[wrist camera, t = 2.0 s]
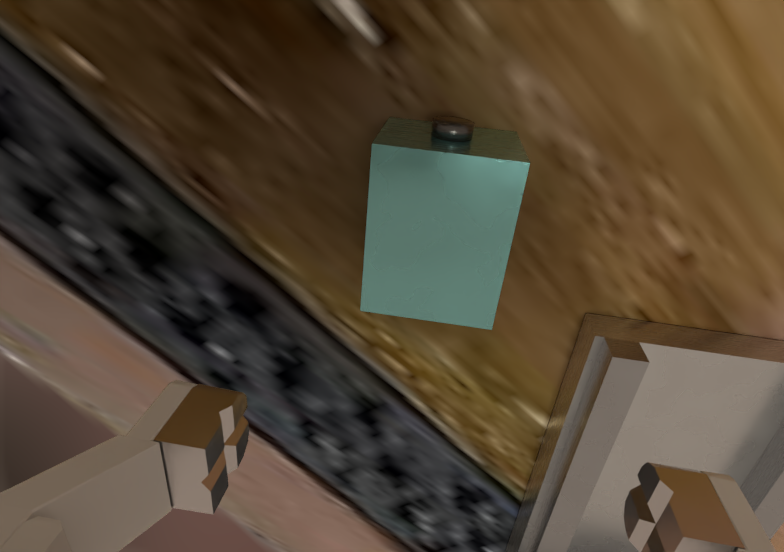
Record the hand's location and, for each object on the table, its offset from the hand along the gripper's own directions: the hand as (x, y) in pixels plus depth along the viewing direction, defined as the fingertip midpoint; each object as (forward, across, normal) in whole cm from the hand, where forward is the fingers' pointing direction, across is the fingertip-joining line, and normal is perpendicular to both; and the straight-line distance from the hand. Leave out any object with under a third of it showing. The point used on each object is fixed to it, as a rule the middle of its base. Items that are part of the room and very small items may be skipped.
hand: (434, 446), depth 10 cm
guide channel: (+15, -13, +15) cm, 25 cm away
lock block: (+15, +1, 0) cm, 15 cm away
